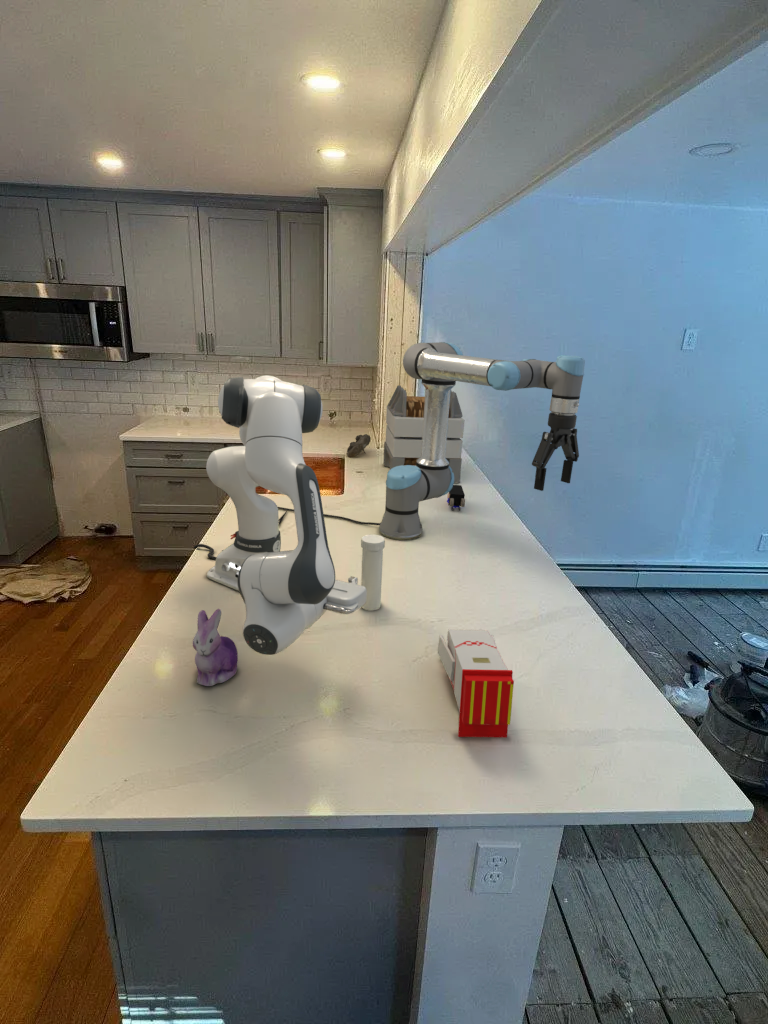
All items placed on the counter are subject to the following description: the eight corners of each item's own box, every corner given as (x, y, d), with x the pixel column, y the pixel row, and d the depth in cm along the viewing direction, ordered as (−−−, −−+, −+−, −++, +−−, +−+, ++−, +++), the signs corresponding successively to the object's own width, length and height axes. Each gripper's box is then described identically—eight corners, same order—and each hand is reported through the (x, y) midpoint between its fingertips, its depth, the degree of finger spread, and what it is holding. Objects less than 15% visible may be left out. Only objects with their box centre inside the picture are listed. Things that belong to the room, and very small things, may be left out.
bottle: (369, 612, 148) (371, 546, 141) (356, 604, 151) (358, 539, 145) (384, 606, 151) (387, 541, 145) (371, 598, 155) (374, 534, 148)
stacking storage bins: (382, 463, 289) (386, 382, 275) (445, 464, 293) (451, 384, 279) (390, 482, 257) (394, 392, 243) (460, 483, 261) (468, 394, 247)
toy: (488, 613, 130) (523, 677, 101) (484, 667, 133) (517, 744, 104) (435, 612, 130) (455, 676, 101) (432, 666, 133) (451, 743, 103)
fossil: (346, 440, 316) (367, 425, 311) (357, 453, 319) (378, 438, 314) (340, 453, 296) (362, 438, 291) (351, 468, 299) (374, 452, 294)
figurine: (199, 693, 114) (193, 629, 109) (190, 666, 122) (184, 604, 117) (245, 682, 118) (242, 619, 113) (233, 656, 127) (230, 596, 122)
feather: (294, 505, 227) (296, 501, 226) (277, 528, 200) (280, 524, 199) (290, 503, 226) (292, 499, 226) (273, 526, 200) (276, 521, 199)
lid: (371, 553, 141) (371, 545, 141) (356, 545, 145) (356, 537, 145) (389, 547, 145) (389, 539, 144) (374, 540, 149) (374, 532, 149)
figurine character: (465, 515, 224) (460, 499, 237) (467, 498, 221) (462, 483, 234) (448, 515, 224) (444, 499, 237) (450, 498, 220) (445, 482, 234)
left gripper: (351, 599, 110) (378, 572, 122) (261, 578, 117) (296, 553, 129) (350, 628, 112) (377, 598, 124) (262, 605, 119) (296, 578, 131)
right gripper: (548, 419, 148) (537, 496, 155) (598, 411, 163) (586, 482, 171) (525, 414, 153) (515, 489, 160) (575, 407, 169) (564, 476, 176)
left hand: (335, 575), depth 126 cm, fingers open, 8 cm apart
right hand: (552, 485), depth 166 cm, fingers open, 13 cm apart
